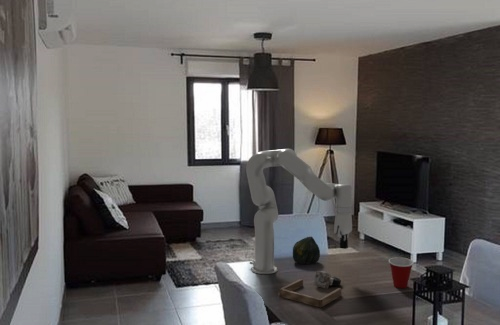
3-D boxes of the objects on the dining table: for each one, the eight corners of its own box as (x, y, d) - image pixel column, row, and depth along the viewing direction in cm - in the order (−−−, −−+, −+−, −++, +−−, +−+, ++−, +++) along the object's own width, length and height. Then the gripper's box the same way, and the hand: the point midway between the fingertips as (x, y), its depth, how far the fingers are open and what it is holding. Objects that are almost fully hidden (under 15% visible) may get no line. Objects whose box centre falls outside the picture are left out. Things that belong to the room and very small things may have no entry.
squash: (282, 251, 248) (297, 233, 240) (301, 247, 258) (315, 230, 250) (297, 273, 241) (312, 256, 233) (315, 268, 251) (331, 251, 243)
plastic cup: (386, 288, 207) (387, 262, 206) (389, 281, 217) (389, 256, 216) (412, 292, 203) (413, 265, 202) (413, 284, 213) (414, 258, 212)
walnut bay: (279, 296, 198) (279, 289, 197) (300, 285, 211) (300, 278, 211) (320, 307, 185) (321, 300, 185) (341, 295, 198) (341, 288, 198)
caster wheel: (339, 288, 214) (337, 292, 204) (315, 281, 217) (313, 285, 207) (342, 274, 214) (341, 278, 205) (319, 267, 217) (316, 270, 208)
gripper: (343, 207, 227) (344, 243, 228) (328, 211, 215) (329, 250, 216) (358, 208, 222) (358, 246, 223) (343, 213, 210) (343, 252, 212)
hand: (343, 248), depth 220 cm, fingers closed
